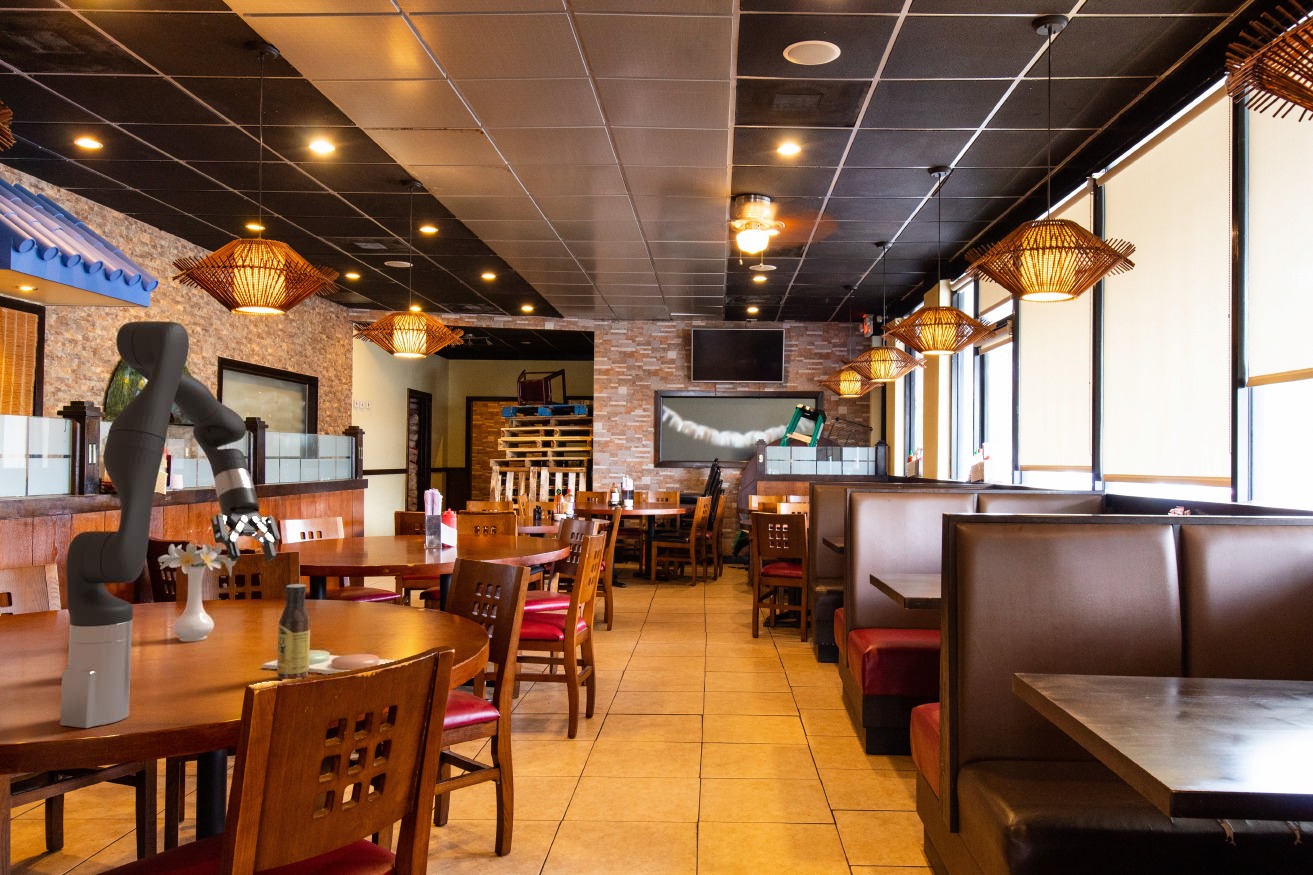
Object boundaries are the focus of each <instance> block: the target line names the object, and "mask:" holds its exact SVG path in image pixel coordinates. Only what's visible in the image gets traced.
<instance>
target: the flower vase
mask: <svg viewBox="0 0 1313 875" xmlns="http://www.w3.org/2000/svg"><path fill="white" fill-rule="evenodd" d="M182 546H183V545H182V544H180V545H178V546H176V547H175V544H173V543H171V544H170V545H169V546H168V554H164V555H163V554H162V555H161V556H160V557H159V558H158V559H157V561H158V562H161V563H162V564H161V566H160V568H159V569H160V570H163V569H164V568H165V567H167V566H168V567H169V568H173V569H174V568H178V567H181V571H182V572H183V574H185V575H186V574H187V577H188V591H187V601H186V605H185V609H184V611H183V613H182V614H181V615H180V616H179V617H178V618H177V620H175V621H174V623H173V625H172V631H173V632H174V634H175V635H176V636H178V637H179V641H180V642H187V643H191V642H192V643H193V642H199V641H200V642H201V641H204V640H206V639H207V638H208V636H207V635H208V634H210V633H211V632H212V631H213V629H214V628H215V623H214V620H213V619H212V617H211V616H210V615H209V614H208V613H207V612H206V610H205V608H204V605H203V594H202V590H203V588H202V584H203V583H202V582H203V576H204V572H205V569H206V567H207V568H208V569H209V570H210V571H213V570H214V568H217V569H222V563H224V564H225V567H226V569H227V570H228V573H229V576H230V578H231V577H232V572H233V569H232V568H233V567H234V566H235V564H236V563H237V560H236V561H231V559H230V558H229V557H227V556H225V555H223V554H221V552H222V551H223V547H222V545H221V544H217V545H215V546H214V547H213V548H212V546H211V544H209V543H208V542H207V543H205V544H203V545H202V549H199V550H197V549H198V548H197V545H195V544H194V545H193V543H187V545H186V547H185V550H186V551H184V550H183V549H182Z"/></svg>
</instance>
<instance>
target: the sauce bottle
mask: <svg viewBox="0 0 1313 875" xmlns="http://www.w3.org/2000/svg"><path fill="white" fill-rule="evenodd" d="M285 593H286V595H285V596H286V598H285V607H284V609H283V612H282V614H281V617H280V620H279V621H278V631H277V632H278V636H277V638H278V640H277V659H276V660H277V670H276V672H277V678H278V679H279V680H281V681H283V680H282V679H296V678H304V679H305V678H307V677H308V675H309V673H308V670H309V652H310V650H311V649H310V645H311V626H310V625H311V615H310V612H309V610H308V609H307V608H306V606H305V605H306V593H307V585H306V584H303V583H302V584H301V583H296V584H295V583H294V584H292V583H291V584H288V585H286V586H285Z"/></svg>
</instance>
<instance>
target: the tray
mask: <svg viewBox="0 0 1313 875" xmlns="http://www.w3.org/2000/svg"><path fill="white" fill-rule="evenodd" d="M277 660H278V659H276V660H272V661H268V662H266V663H263V664H262V669H263V668H271V669H272V668H273V669H277ZM394 661H396V662H397V660H394V659H385V658H383V659H380V657H379V656H378V655H375V654H369V653H355V654H345V655H333V654H330V651H326V650H323V649H322V650H319V649H316V650H315V649H310V652H309V670H308V671H309V672H318V673H322V674H321V675H328V674H331V673H337V672H344V671H350V670H355V669H359V668H364V667H370V666H375V665H380V664H385V663H389V662H394ZM271 669H270V670H271Z"/></svg>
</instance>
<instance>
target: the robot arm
mask: <svg viewBox="0 0 1313 875" xmlns="http://www.w3.org/2000/svg"><path fill="white" fill-rule="evenodd" d="M115 340H116V341H115V342H116V344H115V345H116V349H117V352H118V354H119V356H120V358H121V359H122V361H124V363H125V364H126V365H127V366H128V367H130V368H131V369H132V370H133V371H135V372H136V373H137V374H138V375H140V376H142V377H143V378H144V379H146V383H145V385H144V386H143V387H142V389H141V390H140V392H139V393H137V394H136V396H135V397H134V398H132V400H130V401H129V403H128V404H127V405H125V407H124V408H122V410H121V411H120V412H119V413H118V415H117V416H116V417H115V418H114V419H113V421H112V422H111V424H110V427H109V430H108V433H107V437H106V441H105V446H104V451H103V456H102V457H103V458H102V459H103V466H104V468H105V471H106V473H107V476H108V477H109V480H110V482H111V484H112V485H113V487H114V490H115V491H116V493H117V496H118V499H119V502H120V521H119V526H118V530H117V531H113V530H112V531H111V530H108V531H107V530H103V531H101V530H100V531H98V530H97V531H96V530H95V531H93V530H92V531H83V532H80V533H78V534H77V535H76V536H74V538H72V540H71V542H70V544H69V546H68V549H67V554H66V559H65V560H66V562H65V563H66V564H65V566H66V567H65V568H66V570H65V572H66V573H65V575H66V576H65V577H66V606H67V611H68V614H69V636H68V637H69V638H68V640H69V641H68V656H67V657H68V659H67V662H68V663H67V668H64V669H63V670H62V671H61V692H60V693H61V694H60V712H59V713H60V714H59V715H60V717H59V718H60V719H59V726H65V727H75V728H82V729H89V728H92V727H96V726H97V727H99V726H104V725H108V724H113V723H116V722H119V721H122V720H125V719H126V718H128V717H129V716H130V696H131V695H130V693H131V690H130V689H131V669H132V668H131V667H132V642H133V622H134V621H133V620H134V619H133V617H134V616H133V614H134V613H133V612H134V611H133V610H134V608H133V605H132V603H130V602H128V601H126V600H124V599H121V598H119V597H116V596H114V595H113V594H112V593H110V592H109V591H108V590H107V589H106V586H105V584H129V583H133V582H134V581H136V580H137V579H138V578H139V577H140V576H141V574H142V572H143V569H144V567H145V564H146V560H147V555H148V553H147V552H148V546H149V537H150V529H151V528H150V527H151V520H152V510H153V503H154V497H155V492H156V487H157V481H158V477H159V473H160V468H161V464H162V460H163V455H164V452H165V451H164V450H165V446H166V442H167V434H168V430H169V429H168V428H169V424H170V419H171V414H172V410H173V406H174V404H175V405H176V406H177V407H178V409H179V410H180V412H182V413H183V415H184V416H185V417H186V418H187V419H188V420H189V421H190V422H191V423H192V424H193V429H192V434H193V438H194V439H195V441H196V442H197V444H198V446H199V447H200V448H201V450H202V451H203V453H204V455H205V456H206V459H207V460H208V461H209V462H208V463H209V465H210V468H211V472H212V475H213V479H214V486H215V488H214V489H215V493H216V496H217V500H218V503H219V504H218V505H219V508H220V511H221V513H220V512H219V513H217V514H216V515H215V516H214V517H212V518H211V519H210V522H211V527H212V532H213V538H214V541H215V543H216V544H223V545H224V546H225V548H226V549H225V550H226V552H227V555H228V557H227V558H230V559H231V561H236V562H237V561H238V560H239V559H241V551H240V549H239V544H238V541H236V539H237V538H238V537H243V536H244V537H252V539H253V540H255V541H258V542H259V543H260V544H261V545H262V551H263V554H264V557H265V560H266V562H271V561H272V560H274V559H275V557H276V555H277V554H276V549H275V545H274V543H275V542H277V541H279V540H280V539H281V536H280V532H279V530H278V527H277V523H276V521H275V518H274V516H273V515H269V516H268V517H262V516H261V515H260V511H259V510H260V503H259V500H258V496H257V492H256V489H255V485H254V482H253V478H252V476H251V475H250V471H249V468H248V464H247V460H246V457H245V455H244V452H243V451H242V450H240V449H239V448H231V447H230V448H221V449H220V447H225V446H227V445H229V444H232V443H237V442H239V441H240V440H242V439H243V438H244V437H245V436H246V434H247V433H246V432H247V426H246V424H245V423H246V422H245V421H244V420H243V418H242V417H241V416H240V415H239V413H237V412H235V411H234V410H233V409H232V408H229V407H227V406H226V405H225V404H223V403H221V402H220V401H219V400H218V399H217V398H216V397H215V395H214V394H213V393H212V391H211V390H210V389H209V388H208V386H206V385H205V384H204V383H203V382H201V381H200V380H199V379H197V378H195V377H194V376H192V375H191V374H189V373H187V372H184V370H185V367H186V364H187V360H188V355H189V349H190V347H189V346H190V344H189V343H190V339H189V333H188V332H187V329H186V328H185V327H184V326H183V325H182V324H180V323H179V322H175V321H157V320H156V321H154V320H153V321H151V320H149V321H148V320H147V321H144V320H143V321H142V320H141V321H129V322H125V324H123V325H121V327H120V328H119V330H117V334H116V338H115ZM218 448H219V449H218ZM226 526H227V527H228V528H229V529H228V530H227V527H226ZM258 531H260V532H259V533H258Z"/></svg>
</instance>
